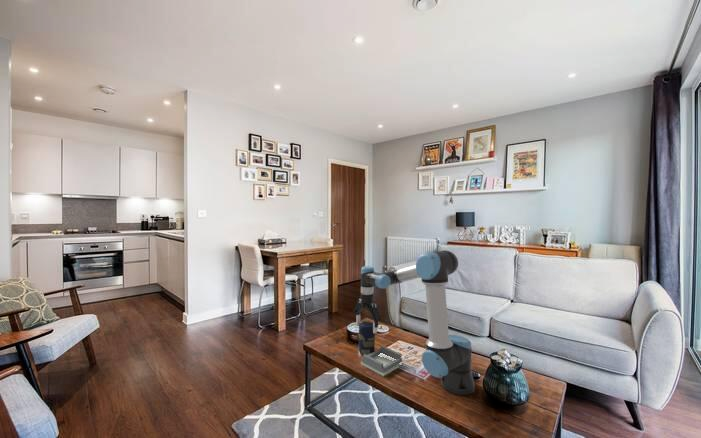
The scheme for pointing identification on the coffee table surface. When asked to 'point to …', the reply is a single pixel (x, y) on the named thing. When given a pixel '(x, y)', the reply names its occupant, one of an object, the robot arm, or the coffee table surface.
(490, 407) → the coffee table surface
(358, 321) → the robot arm
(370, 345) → the canister
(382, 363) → the grey square tray
